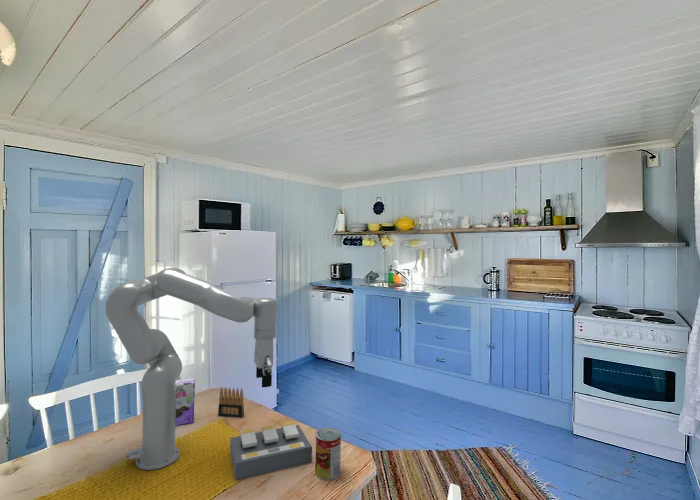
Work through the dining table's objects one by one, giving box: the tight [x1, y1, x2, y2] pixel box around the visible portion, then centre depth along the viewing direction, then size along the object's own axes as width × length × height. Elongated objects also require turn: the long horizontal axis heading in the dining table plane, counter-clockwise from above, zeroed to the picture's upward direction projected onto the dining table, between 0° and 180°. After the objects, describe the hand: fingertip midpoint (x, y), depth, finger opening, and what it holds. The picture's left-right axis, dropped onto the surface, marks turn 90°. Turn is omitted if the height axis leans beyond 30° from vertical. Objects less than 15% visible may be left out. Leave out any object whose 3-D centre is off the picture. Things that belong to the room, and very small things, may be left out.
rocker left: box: [239, 428, 257, 448], centre depth 116 cm, size 4×7×1 cm, turn 24°
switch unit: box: [229, 424, 313, 481], centre depth 117 cm, size 24×16×6 cm, turn 114°
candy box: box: [175, 377, 196, 427], centre depth 140 cm, size 14×6×16 cm, turn 112°
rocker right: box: [280, 420, 299, 439], centre depth 121 cm, size 4×7×1 cm, turn 24°
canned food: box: [314, 427, 342, 481], centre depth 110 cm, size 8×8×12 cm
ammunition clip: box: [217, 386, 245, 419], centre depth 146 cm, size 11×2×12 cm, turn 83°
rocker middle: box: [260, 424, 278, 444], centre depth 119 cm, size 4×7×1 cm, turn 24°
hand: (263, 381), depth 123 cm, fingers open, 9 cm apart
